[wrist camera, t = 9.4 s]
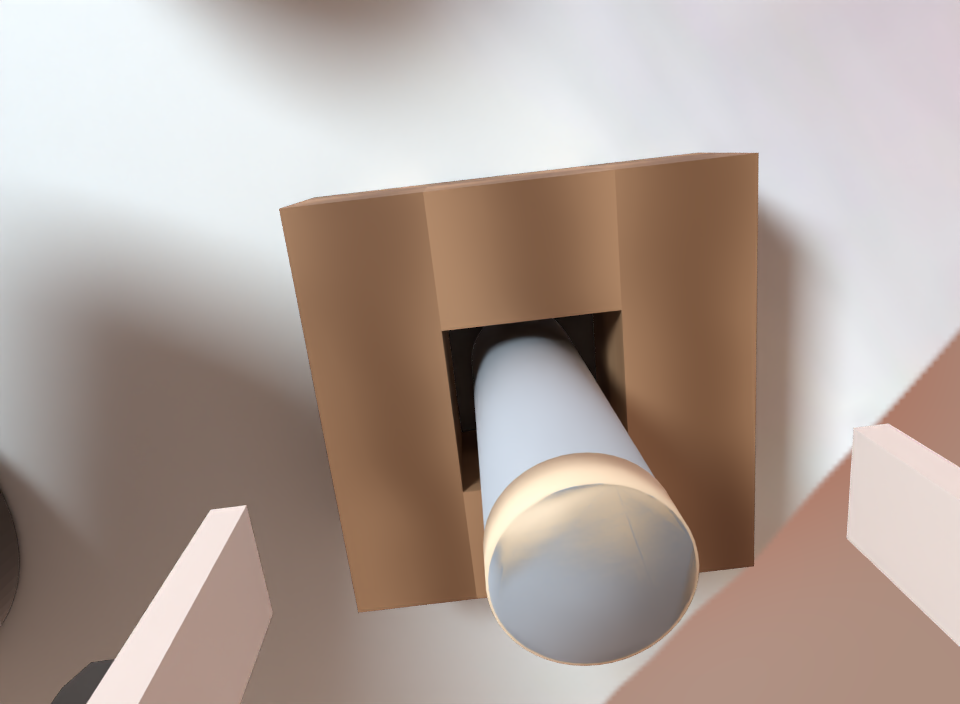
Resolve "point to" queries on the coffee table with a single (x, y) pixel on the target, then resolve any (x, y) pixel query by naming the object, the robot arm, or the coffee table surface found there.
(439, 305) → the socket block
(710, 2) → the coffee table surface
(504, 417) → the peg
